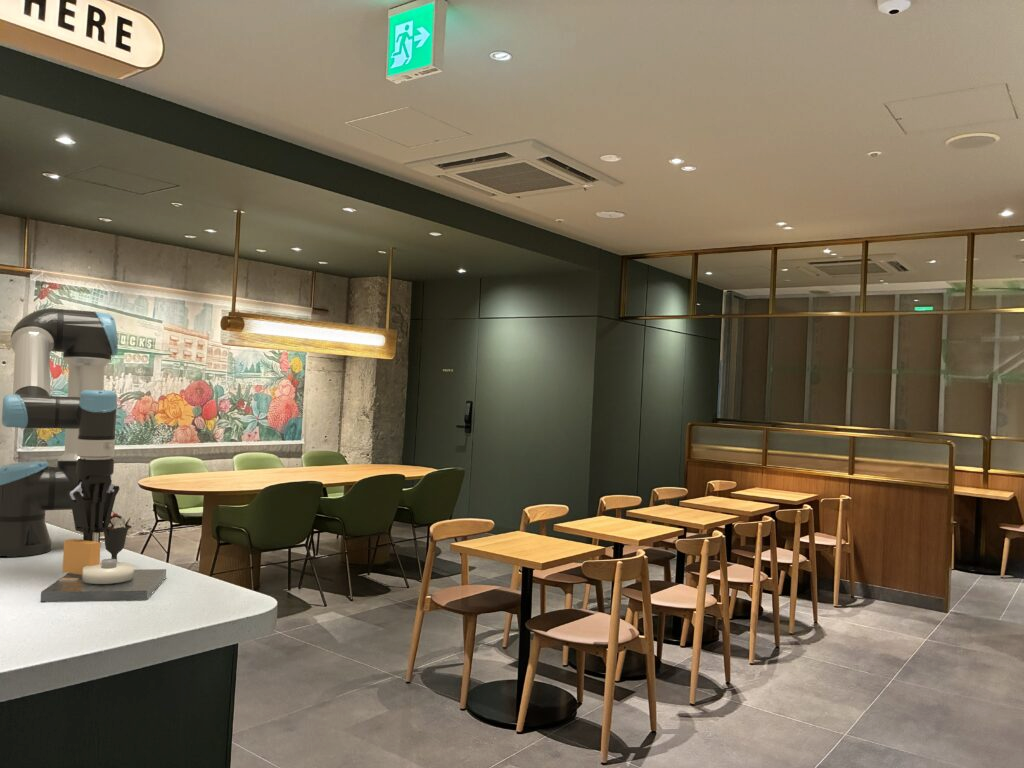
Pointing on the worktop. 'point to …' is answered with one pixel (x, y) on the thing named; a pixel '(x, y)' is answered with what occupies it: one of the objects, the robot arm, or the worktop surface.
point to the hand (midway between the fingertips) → (90, 561)
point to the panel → (104, 588)
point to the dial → (93, 563)
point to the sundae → (116, 534)
